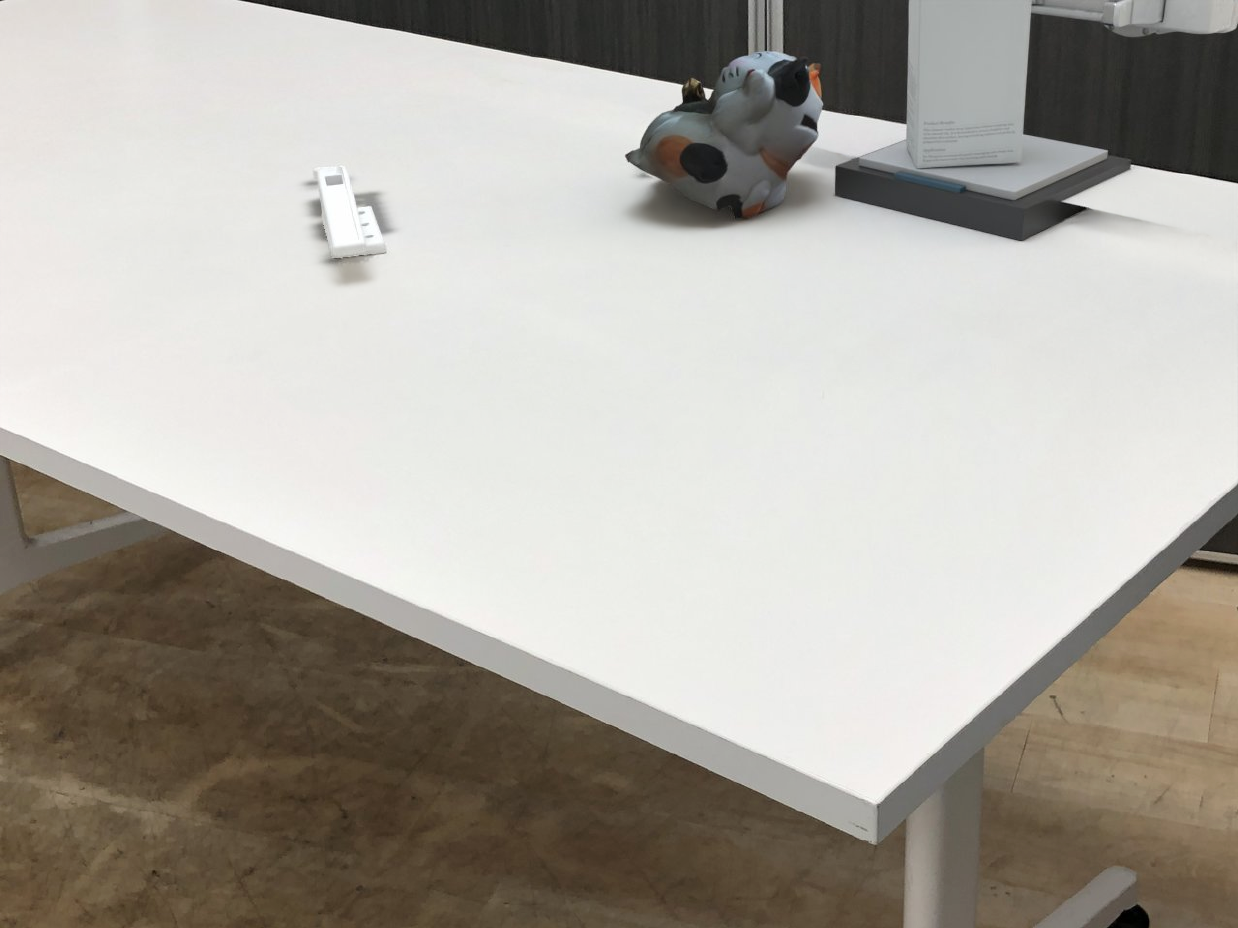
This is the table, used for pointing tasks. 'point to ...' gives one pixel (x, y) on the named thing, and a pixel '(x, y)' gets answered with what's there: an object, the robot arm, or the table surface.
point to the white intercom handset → (346, 216)
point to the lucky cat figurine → (737, 134)
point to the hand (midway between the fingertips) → (1055, 8)
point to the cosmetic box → (966, 81)
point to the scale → (982, 186)
